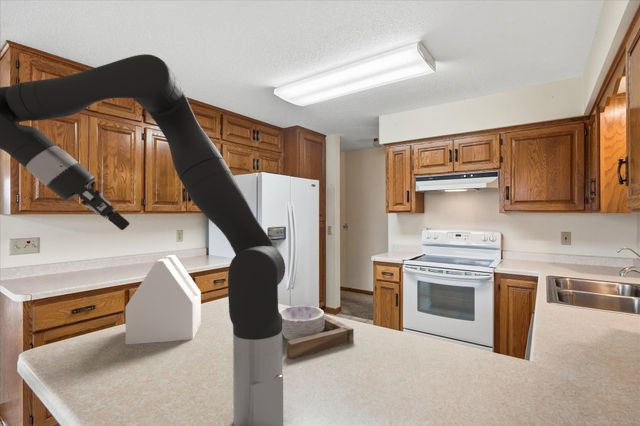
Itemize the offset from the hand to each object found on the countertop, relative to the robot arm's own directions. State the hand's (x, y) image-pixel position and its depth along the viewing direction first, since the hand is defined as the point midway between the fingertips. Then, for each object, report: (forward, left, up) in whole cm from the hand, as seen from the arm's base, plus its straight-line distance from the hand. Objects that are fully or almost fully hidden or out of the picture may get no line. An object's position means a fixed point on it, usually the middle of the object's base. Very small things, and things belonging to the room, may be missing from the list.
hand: (125, 226), depth 75 cm
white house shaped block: (+32, -13, -37) cm, 51 cm away
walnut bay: (+4, -49, -37) cm, 61 cm away
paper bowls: (+4, -48, -37) cm, 61 cm away
